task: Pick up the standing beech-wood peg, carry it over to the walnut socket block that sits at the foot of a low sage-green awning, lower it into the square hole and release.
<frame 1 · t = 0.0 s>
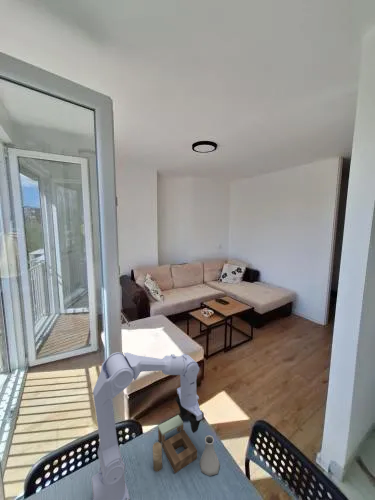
hand: (189, 422, 82), 10 cm above the table, fingers open, 7 cm apart
flask: (209, 465, 77), on the table
socket: (180, 454, 81), on the table
peg: (157, 466, 77), on the table
awning: (171, 438, 87), on the table
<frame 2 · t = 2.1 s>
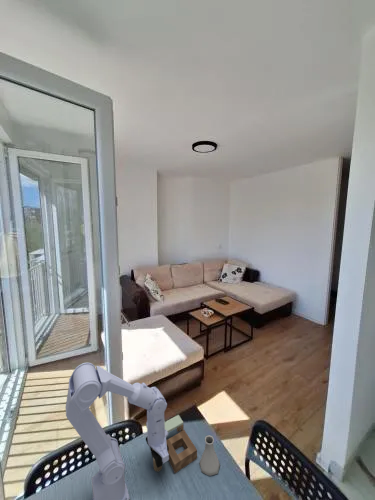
hand: (157, 460, 76), 2 cm above the table, fingers closed on peg, 3 cm apart
peg: (157, 466, 77), on the table, touching gripper
everything else where it was.
when the fingers open (4 cm above the table, at t = 5.6 s): peg drops 1 cm, resting in socket.
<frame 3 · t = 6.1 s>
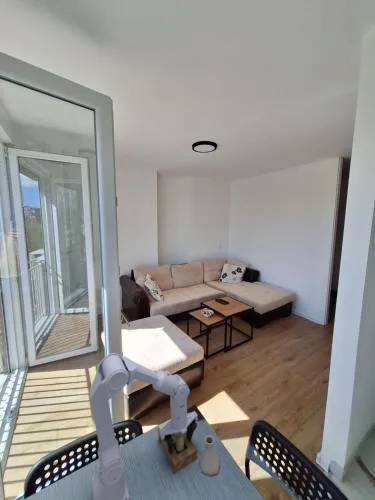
hand: (179, 444, 80), 4 cm above the table, fingers open, 7 cm apart
peg: (180, 454, 81), resting in socket
everything else where it was.
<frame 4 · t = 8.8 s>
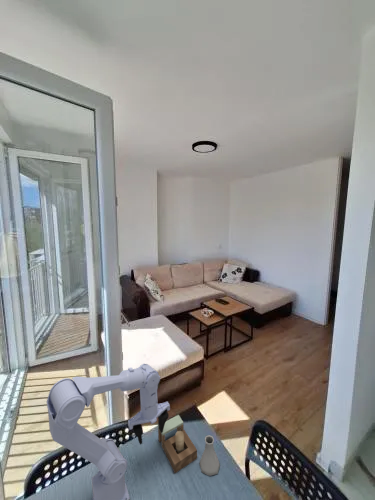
hand: (150, 435, 77), 10 cm above the table, fingers open, 7 cm apart
nothing on the table moved.
at the end: peg 0.0 cm off-centre on the socket, point 0.0 cm above the socket's base; peg tilted 0°; the gripper is holding nothing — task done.
